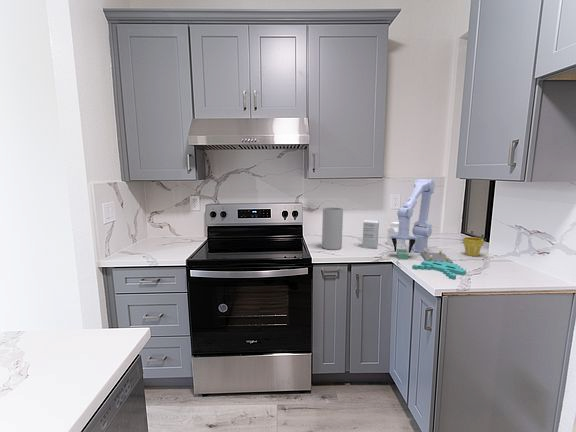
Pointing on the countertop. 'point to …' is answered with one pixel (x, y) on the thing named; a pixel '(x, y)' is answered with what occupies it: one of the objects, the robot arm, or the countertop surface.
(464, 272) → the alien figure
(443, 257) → the chassis
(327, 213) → the cylinder vase
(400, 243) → the jar
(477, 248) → the plant pot
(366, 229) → the supplement box
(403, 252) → the green block
